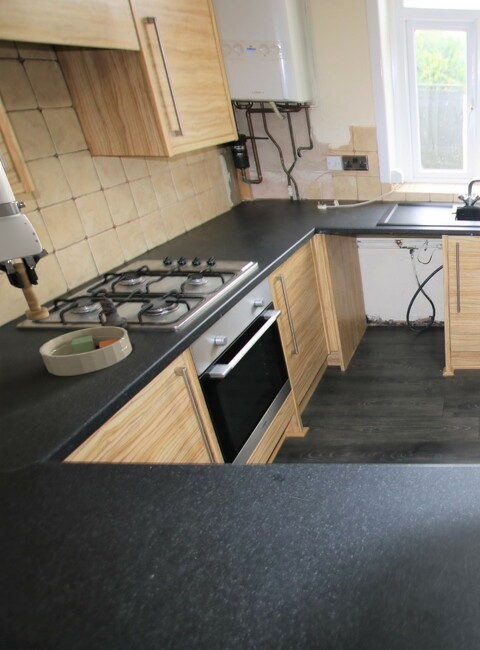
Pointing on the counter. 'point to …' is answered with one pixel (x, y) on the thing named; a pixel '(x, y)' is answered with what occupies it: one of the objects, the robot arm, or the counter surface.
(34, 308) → the muddler
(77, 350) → the block green
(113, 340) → the block orange
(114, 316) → the dark grey figurine
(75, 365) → the bowl
